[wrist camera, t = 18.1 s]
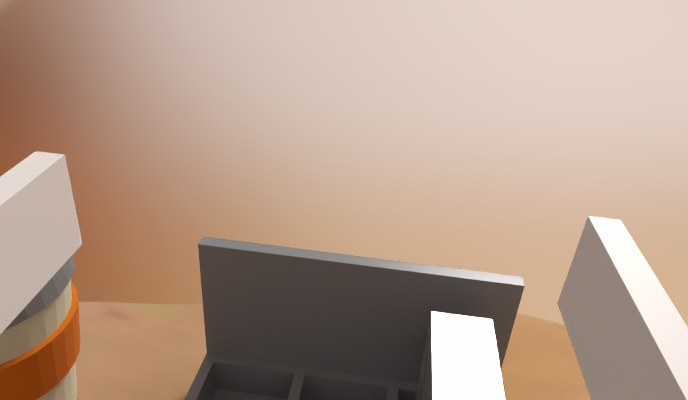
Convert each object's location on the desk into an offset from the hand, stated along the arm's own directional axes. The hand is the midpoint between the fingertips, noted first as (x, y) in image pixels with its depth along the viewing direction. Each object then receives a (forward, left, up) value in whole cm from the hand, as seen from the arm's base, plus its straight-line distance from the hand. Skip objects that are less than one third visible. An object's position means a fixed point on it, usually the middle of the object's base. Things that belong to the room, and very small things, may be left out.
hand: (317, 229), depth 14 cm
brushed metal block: (+7, +13, -28) cm, 32 cm away
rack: (0, +13, -29) cm, 32 cm away
